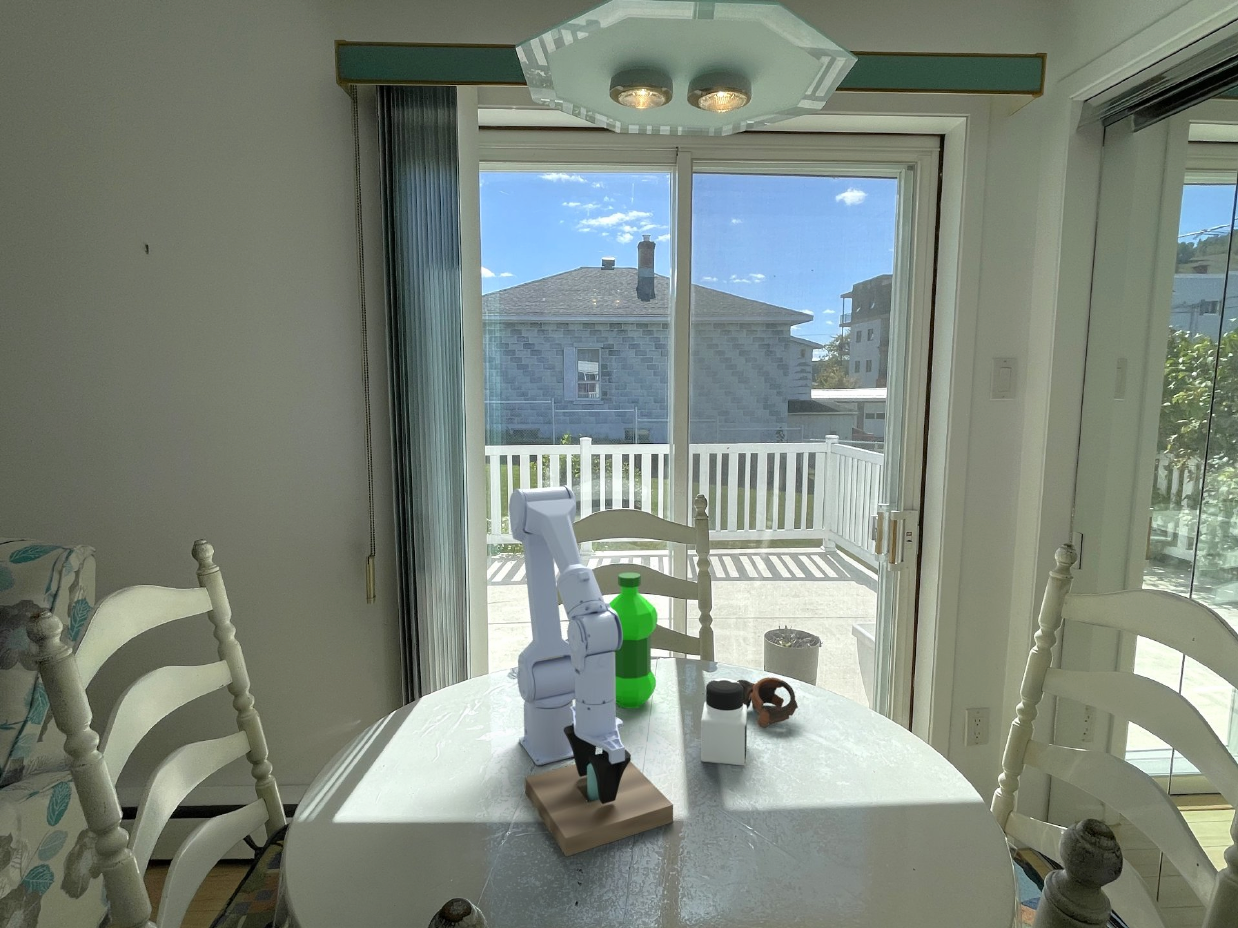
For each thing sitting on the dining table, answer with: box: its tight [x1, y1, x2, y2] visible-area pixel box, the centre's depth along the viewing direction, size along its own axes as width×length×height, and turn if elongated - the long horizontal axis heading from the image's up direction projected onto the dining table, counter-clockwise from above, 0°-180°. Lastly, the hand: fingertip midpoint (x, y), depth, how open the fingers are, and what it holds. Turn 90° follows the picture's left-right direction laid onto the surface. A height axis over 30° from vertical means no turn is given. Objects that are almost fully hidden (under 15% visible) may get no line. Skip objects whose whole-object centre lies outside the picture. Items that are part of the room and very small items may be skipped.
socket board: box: [524, 761, 674, 857], centre depth 99 cm, size 16×16×2 cm
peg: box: [587, 763, 599, 802], centre depth 99 cm, size 3×3×6 cm
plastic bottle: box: [609, 572, 658, 709], centre depth 132 cm, size 10×10×25 cm
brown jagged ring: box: [736, 677, 799, 728], centre depth 127 cm, size 12×10×8 cm
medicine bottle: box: [700, 678, 748, 767], centre depth 113 cm, size 7×7×12 cm
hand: (596, 786), depth 99 cm, fingers open, 7 cm apart
